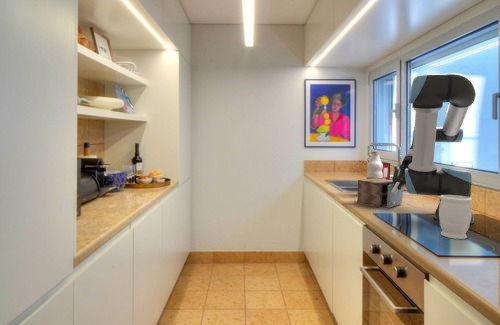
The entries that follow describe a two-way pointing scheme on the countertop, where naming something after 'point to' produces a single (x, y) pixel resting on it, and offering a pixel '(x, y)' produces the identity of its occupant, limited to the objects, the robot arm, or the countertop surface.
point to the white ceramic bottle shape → (375, 166)
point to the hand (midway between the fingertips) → (393, 193)
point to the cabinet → (373, 192)
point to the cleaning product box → (386, 170)
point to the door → (394, 196)
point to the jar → (455, 215)
